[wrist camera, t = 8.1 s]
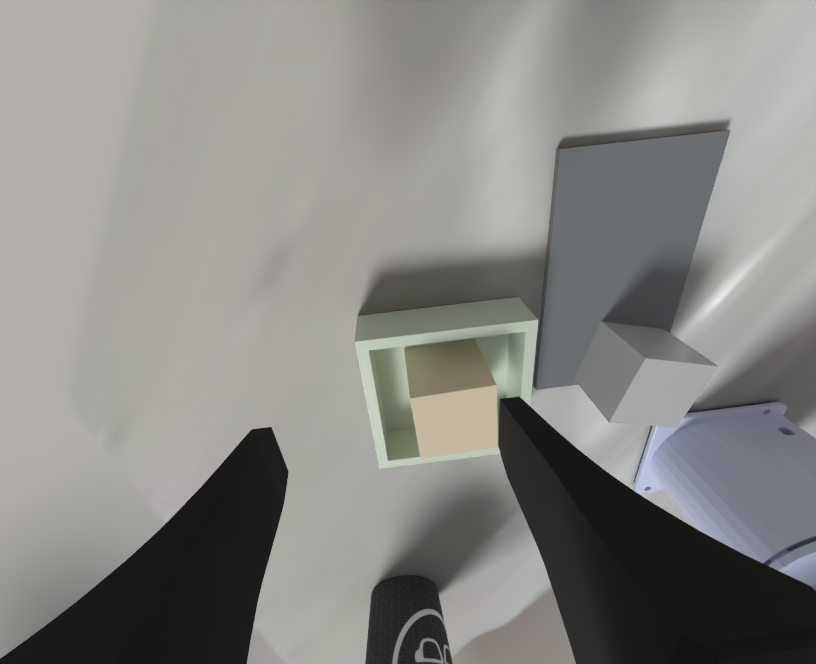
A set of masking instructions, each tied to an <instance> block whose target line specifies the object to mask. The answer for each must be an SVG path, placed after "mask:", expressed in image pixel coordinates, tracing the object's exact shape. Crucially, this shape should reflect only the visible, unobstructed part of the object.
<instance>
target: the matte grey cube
mask: <svg viewBox="0 0 816 664" xmlns="http://www.w3.org/2000/svg"><path fill="white" fill-rule="evenodd" d="M718 367H719V366H717V365H716V364H714V363H713V362H711V361H710V360H709V359H707V358H706V357H704V356H703V355H701V354H700V353H698V352H697V351H695V350H694V349H692V348H691V347H689V346H688V345H686V344H685V343H684V342H682V341H681V340H679V339H678V338H676V337H675V336H673V335H672V334H670V333H669V332H667V331H666V330H664V329H659V328H651V327H643V326H635V325H627V324H619V323H611V322H603V321H601V323H600V325H599V327H598V329H597V331H596V333H595V335H594V337H593V340H592V342H591V344H590V346H589V348H588V350H587V352H586V354H585V357H584V359H583V361H582V363H581V365H580V367H579V369H578V371H577V373H576V376H575V378H574V379H575V381H576V382H577V383H578V384H579V386H580V387H581V388H582V389H583V391H584V392H585V393H586V394H587V396H588V397H589V398H590V399H591V401H592V402H593V403H594V404H595V406H596V407H597V408H598V409H599V411H600V412H601V413H602V414H603V416H604V417H605V418H606V419H607V421H608V422H610V423H622V424H635V425H647V426H659V427H671V428H677V426H678V425H679V423H680V422H681V420H682V419H683V418H684V416H685V415H686V413H687V412H688V410H689V409H690V407H691V406H692V404H693V403H694V402H695V400H696V399H697V397H698V396H699V394H700V393H701V391H702V390H703V389H704V387H705V386H706V384H707V383H708V381H709V380H710V378H711V377H712V376H713V374H714V373H715V371H716V370H717V368H718Z"/></svg>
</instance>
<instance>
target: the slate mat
mask: <svg viewBox="0 0 816 664" xmlns="http://www.w3.org/2000/svg"><path fill="white" fill-rule="evenodd" d="M729 133H730V130H722V131H713V132H704V133H695V134H686V135H677V136H667V137H658V138H649V139H640V140H631V141H622V142H613V143H604V144H595V145H586V146H577V147H568V148H559V149H557V150H556V161H555V171H554V182H553V192H552V202H551V213H550V223H549V234H548V244H547V254H546V265H545V275H544V286H543V296H542V306H541V317H540V327H539V338H538V348H537V358H536V369H535V379H534V387H535V389H536V390H538V389H546V388H554V387H562V386H570V385H578V383H577V382H576V381H575V379H574V378H575V376H576V373H577V371H578V369H579V367H580V365H581V363H582V361H583V359H584V357H585V354H586V352H587V350H588V348H589V346H590V344H591V342H592V340H593V337H594V335H595V333H596V331H597V329H598V327H599V325H600V323H601V321H603V322H611V323H619V324H627V325H635V326H643V327H651V328H659V329H664V330H666V331H667V332H669V333H670V329H671V326H672V323H673V319H674V316H675V313H676V309H677V306H678V303H679V299H680V296H681V293H682V289H683V286H684V283H685V280H686V276H687V273H688V270H689V266H690V263H691V260H692V256H693V253H694V250H695V246H696V243H697V240H698V236H699V233H700V230H701V226H702V223H703V220H704V216H705V213H706V210H707V206H708V203H709V200H710V197H711V193H712V190H713V187H714V183H715V180H716V177H717V173H718V170H719V167H720V163H721V160H722V157H723V153H724V150H725V147H726V143H727V140H728V137H729Z"/></svg>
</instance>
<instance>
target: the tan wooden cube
mask: <svg viewBox="0 0 816 664" xmlns="http://www.w3.org/2000/svg"><path fill="white" fill-rule="evenodd" d="M404 353H405V362H406V370H407V378H408V386H409V395H410V402H411V407H412V413H413V419H414V424H415V430H416V436H417V442H418V447H419V453H420V459H425V458H431V457H438V456H444V455H451V454H457V453H463V452H470V451H476V450H482V449H489V448H495V447H498V416H497V384H496V382H495V380H494V378H493V376H492V374H491V372H490V370H489V367H488V365H487V363H486V361H485V359H484V357H483V355H482V353H481V351H480V348H479V346H478V344H477V342H476V340H475V338H473V339H466V340H460V341H454V342H447V343H441V344H435V345H428V346H422V347H416V348H409V349H404Z"/></svg>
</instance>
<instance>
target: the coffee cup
mask: <svg viewBox="0 0 816 664" xmlns="http://www.w3.org/2000/svg"><path fill="white" fill-rule="evenodd" d="M365 664H453V663H452V658H451V653H450V649H449V644H448V639H447V634H446V629H445V624H444V620H443V615H442V610H441V605H440V600H439V595H438V591H437V587H436V585H435V584H434V583H433V582H432V581H430V580H428V579H426V578H423V577H418V576H400V577H395V578H391V579H388V580H386V581H384V582H382V583H380V584H379V585H378V586H376V587H375V589H374V590H373V592H372V595H371V606H370V617H369V629H368V640H367V652H366V663H365Z"/></svg>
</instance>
